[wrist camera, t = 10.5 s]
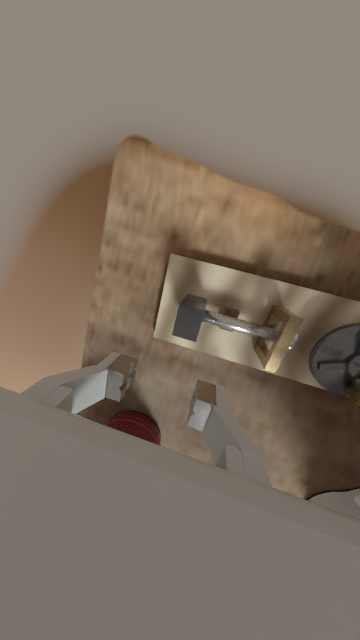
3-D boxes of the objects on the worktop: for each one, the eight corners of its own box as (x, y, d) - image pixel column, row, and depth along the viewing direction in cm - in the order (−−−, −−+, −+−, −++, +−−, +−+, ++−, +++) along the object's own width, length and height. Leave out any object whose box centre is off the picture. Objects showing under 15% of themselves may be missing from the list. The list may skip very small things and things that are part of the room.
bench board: (410, 314, 23) (452, 324, 19) (351, 393, 28) (374, 414, 24) (172, 254, 26) (165, 251, 22) (156, 333, 31) (147, 343, 27)
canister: (157, 410, 36) (111, 531, 20) (166, 454, 40) (133, 586, 23) (104, 408, 39) (25, 512, 22) (117, 449, 43) (57, 564, 26)
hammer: (295, 323, 24) (328, 345, 17) (283, 347, 25) (309, 376, 19) (182, 292, 26) (171, 301, 19) (176, 316, 27) (164, 332, 20)
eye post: (283, 307, 24) (303, 319, 19) (262, 351, 27) (275, 373, 21) (273, 304, 24) (290, 315, 19) (253, 348, 27) (264, 369, 21)
